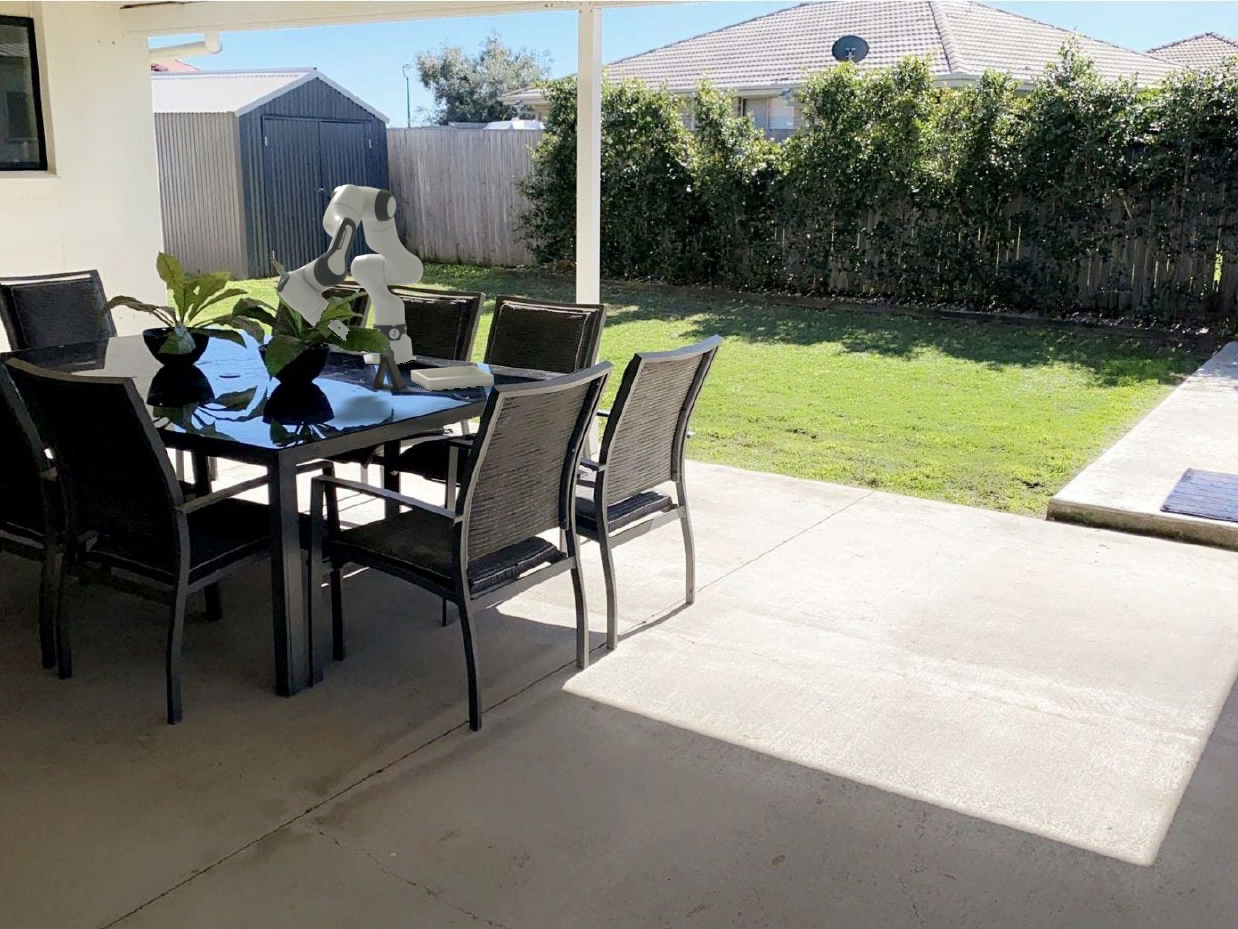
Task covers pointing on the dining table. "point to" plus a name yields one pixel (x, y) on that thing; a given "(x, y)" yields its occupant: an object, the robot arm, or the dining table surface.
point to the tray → (452, 378)
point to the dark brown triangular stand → (393, 372)
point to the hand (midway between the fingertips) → (354, 343)
